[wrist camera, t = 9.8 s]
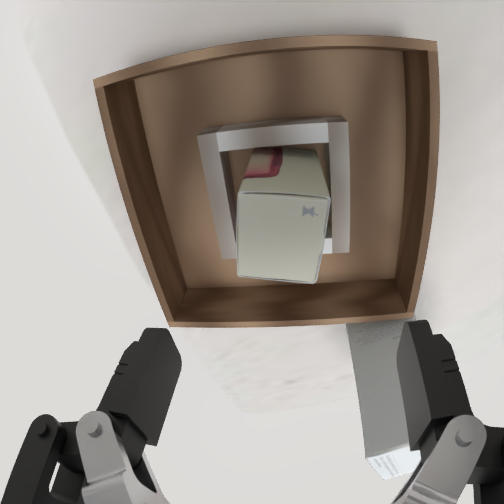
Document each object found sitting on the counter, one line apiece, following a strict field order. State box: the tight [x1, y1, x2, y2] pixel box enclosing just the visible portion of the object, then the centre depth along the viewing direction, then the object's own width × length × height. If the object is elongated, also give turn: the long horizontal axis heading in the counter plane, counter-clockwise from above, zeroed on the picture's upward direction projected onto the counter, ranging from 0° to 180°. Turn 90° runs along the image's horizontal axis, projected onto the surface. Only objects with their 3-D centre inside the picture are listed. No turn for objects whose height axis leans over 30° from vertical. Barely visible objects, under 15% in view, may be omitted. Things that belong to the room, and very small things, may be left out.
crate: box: [93, 35, 440, 328], centre depth 21 cm, size 19×19×5 cm
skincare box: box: [346, 315, 421, 480], centre depth 23 cm, size 8×6×15 cm
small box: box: [236, 147, 331, 284], centre depth 19 cm, size 5×4×8 cm
